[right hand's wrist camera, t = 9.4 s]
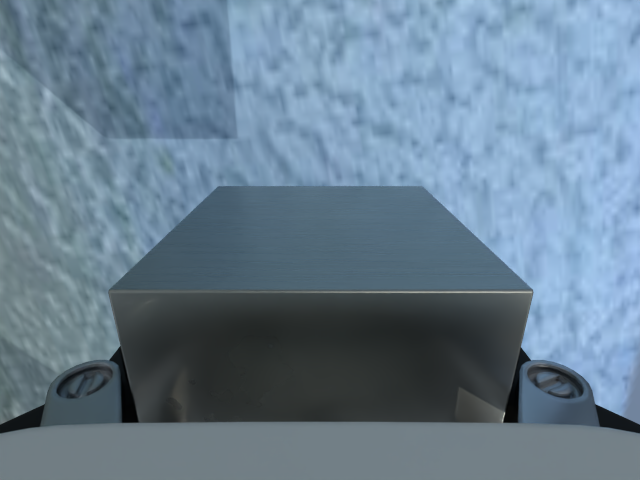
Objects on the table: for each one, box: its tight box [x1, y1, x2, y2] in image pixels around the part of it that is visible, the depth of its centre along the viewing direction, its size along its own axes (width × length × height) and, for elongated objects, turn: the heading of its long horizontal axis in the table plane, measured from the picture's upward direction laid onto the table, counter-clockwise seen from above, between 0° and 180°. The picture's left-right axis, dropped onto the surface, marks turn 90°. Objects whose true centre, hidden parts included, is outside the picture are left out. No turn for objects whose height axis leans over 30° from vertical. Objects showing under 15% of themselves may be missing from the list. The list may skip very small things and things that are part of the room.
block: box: [109, 186, 533, 423], centre depth 11 cm, size 7×7×7 cm
